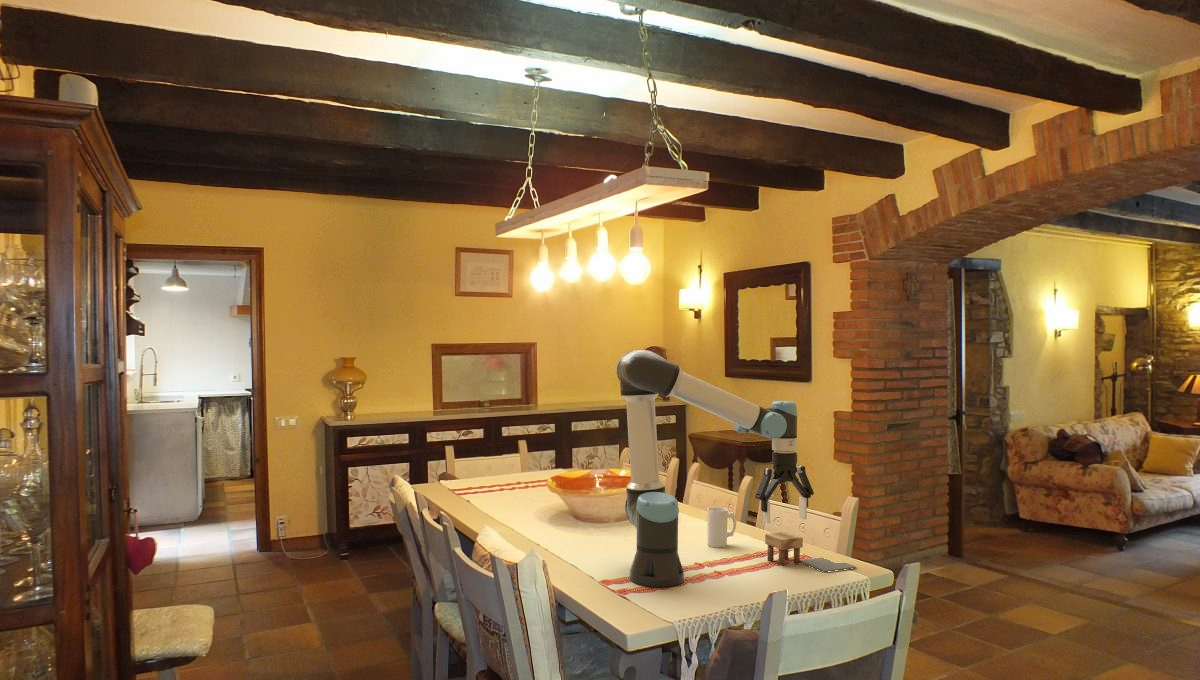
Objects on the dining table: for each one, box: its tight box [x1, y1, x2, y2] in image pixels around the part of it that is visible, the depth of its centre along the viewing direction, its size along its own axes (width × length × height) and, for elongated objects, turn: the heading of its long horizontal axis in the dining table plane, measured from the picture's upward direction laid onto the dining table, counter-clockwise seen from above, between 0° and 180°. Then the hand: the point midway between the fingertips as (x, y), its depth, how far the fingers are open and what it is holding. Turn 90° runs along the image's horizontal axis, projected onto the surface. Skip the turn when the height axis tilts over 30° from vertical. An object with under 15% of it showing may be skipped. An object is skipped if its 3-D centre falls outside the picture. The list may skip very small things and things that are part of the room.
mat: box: [800, 557, 857, 573], centre depth 230 cm, size 12×12×1 cm
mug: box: [706, 506, 737, 549], centre depth 253 cm, size 10×7×12 cm, turn 101°
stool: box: [764, 531, 804, 567], centre depth 234 cm, size 8×8×8 cm
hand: (785, 520), depth 234 cm, fingers open, 13 cm apart
